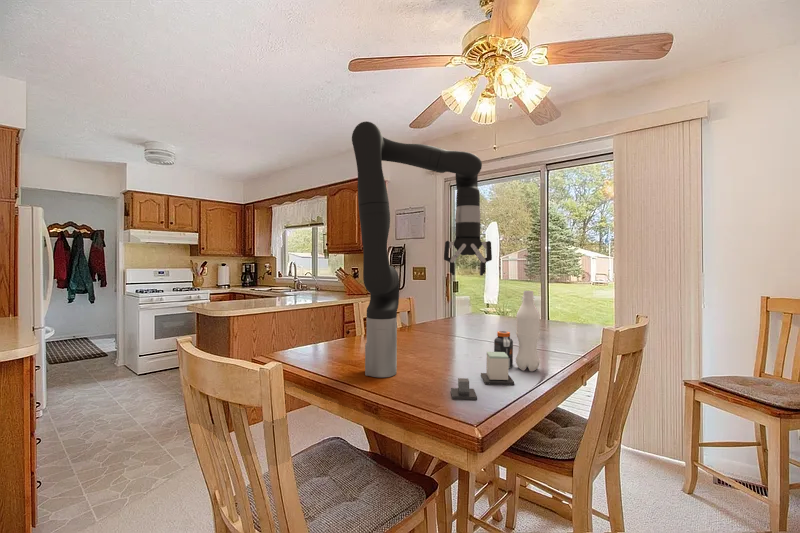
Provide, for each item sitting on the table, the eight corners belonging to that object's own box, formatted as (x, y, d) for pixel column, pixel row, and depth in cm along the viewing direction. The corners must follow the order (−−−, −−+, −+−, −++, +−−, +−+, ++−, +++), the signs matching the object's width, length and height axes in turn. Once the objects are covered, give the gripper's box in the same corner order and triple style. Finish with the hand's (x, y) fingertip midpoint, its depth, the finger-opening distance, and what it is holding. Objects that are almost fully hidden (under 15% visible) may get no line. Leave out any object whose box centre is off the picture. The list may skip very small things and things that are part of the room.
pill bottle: (513, 369, 120) (513, 333, 120) (494, 368, 121) (494, 333, 121) (511, 364, 126) (512, 330, 125) (493, 363, 127) (493, 329, 127)
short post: (452, 399, 93) (452, 383, 93) (450, 391, 99) (450, 376, 99) (476, 400, 93) (477, 384, 93) (473, 391, 99) (473, 376, 99)
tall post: (485, 384, 105) (485, 359, 105) (480, 375, 113) (480, 352, 113) (514, 385, 104) (514, 360, 104) (507, 376, 112) (508, 353, 112)
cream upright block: (489, 379, 106) (489, 356, 106) (486, 373, 111) (486, 351, 111) (508, 379, 106) (508, 356, 106) (504, 374, 111) (504, 352, 111)
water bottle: (514, 370, 118) (515, 291, 117) (516, 365, 124) (517, 289, 124) (539, 373, 115) (540, 292, 115) (539, 367, 122) (540, 290, 121)
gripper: (445, 220, 111) (444, 275, 111) (493, 220, 110) (493, 276, 110) (443, 223, 118) (443, 274, 119) (489, 223, 117) (488, 274, 118)
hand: (467, 275), depth 114 cm, fingers open, 8 cm apart
